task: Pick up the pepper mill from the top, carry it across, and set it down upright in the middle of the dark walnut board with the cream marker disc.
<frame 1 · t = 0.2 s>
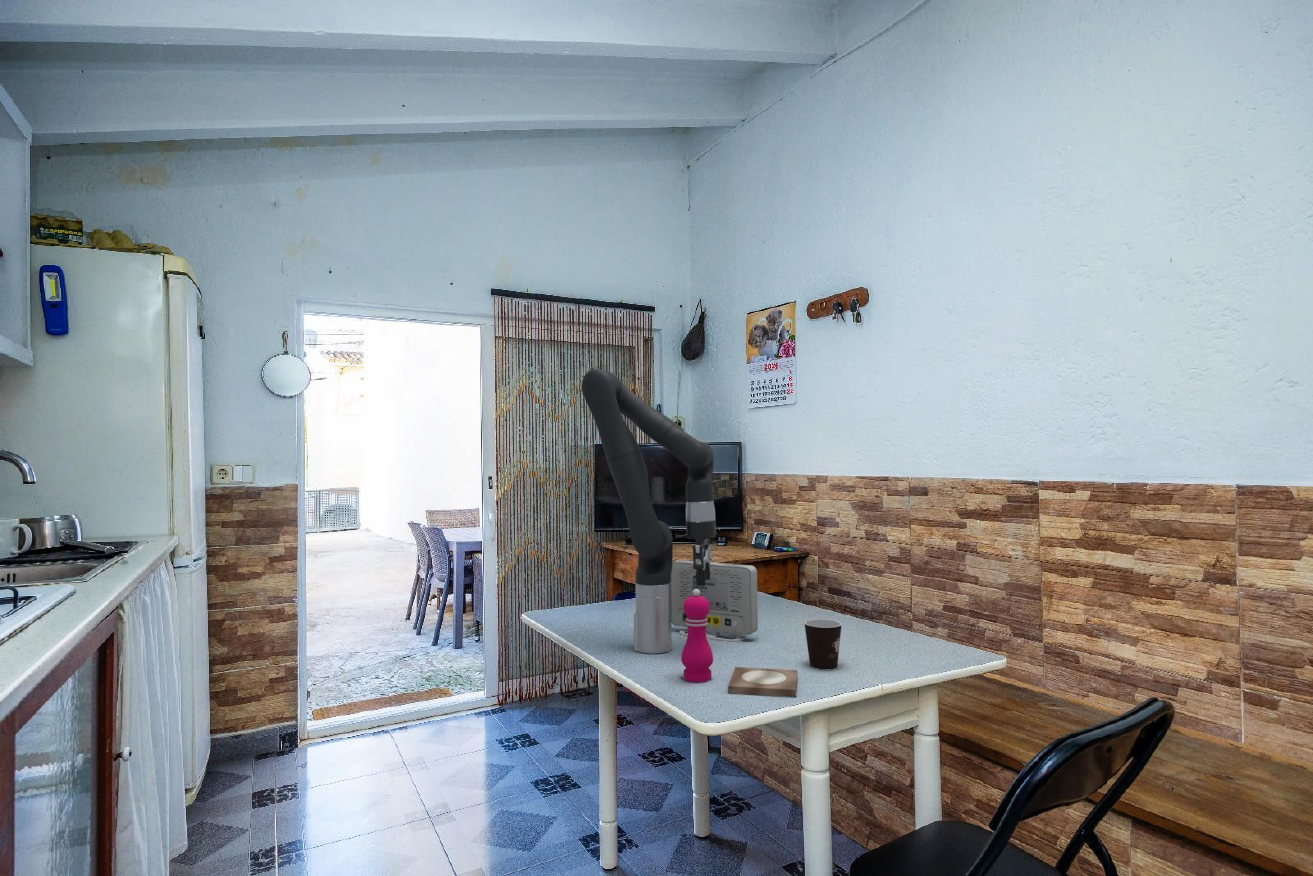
hand: (703, 582, 183), 18 cm above the table, tool pointing down, fingers open, 8 cm apart
network device: (712, 636, 200), on the table
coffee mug: (828, 665, 171), on the table
walnut board: (763, 684, 156), on the table
pepper mill: (697, 679, 161), on the table
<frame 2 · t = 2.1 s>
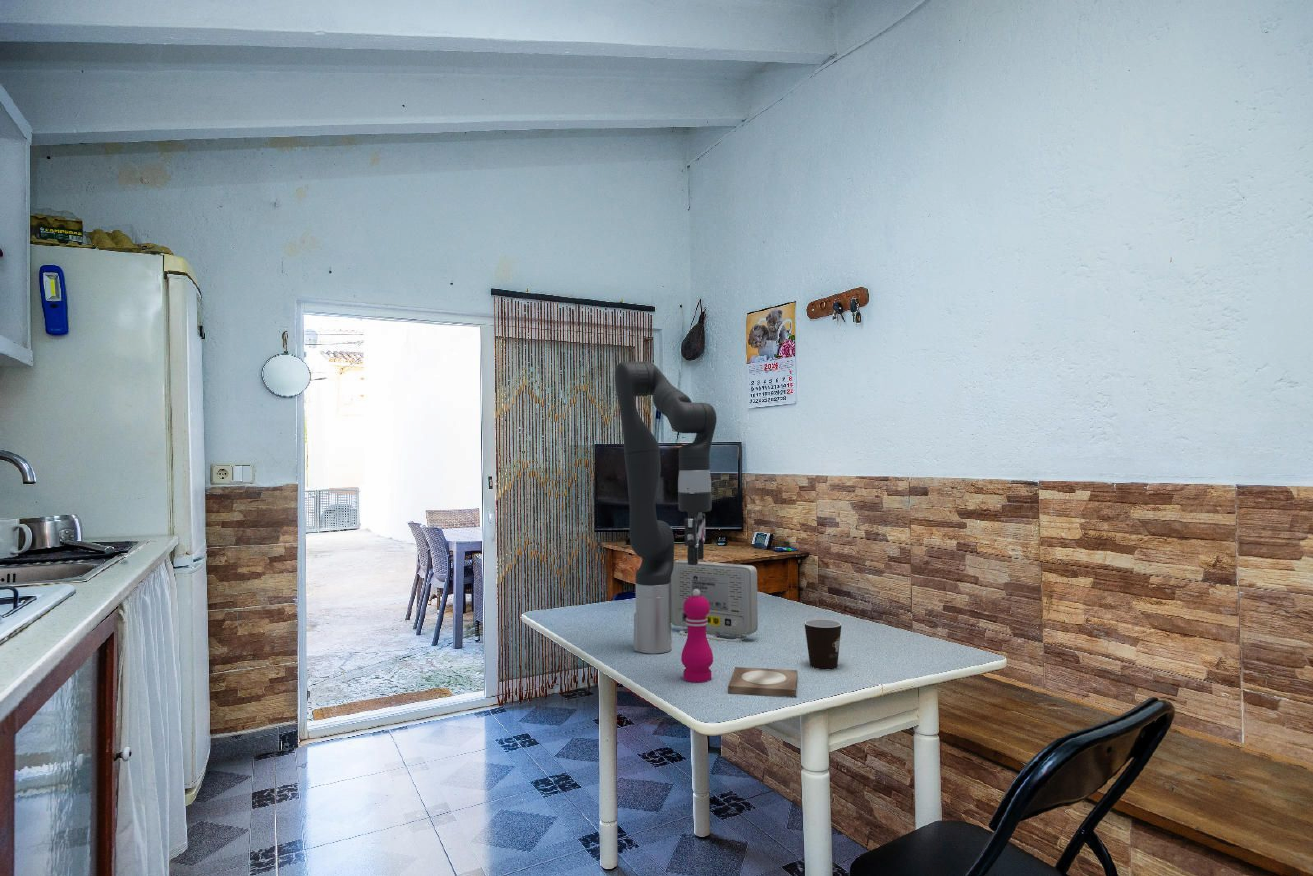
hand: (695, 562, 162), 26 cm above the table, tool pointing down, fingers open, 8 cm apart
nothing on the table moved.
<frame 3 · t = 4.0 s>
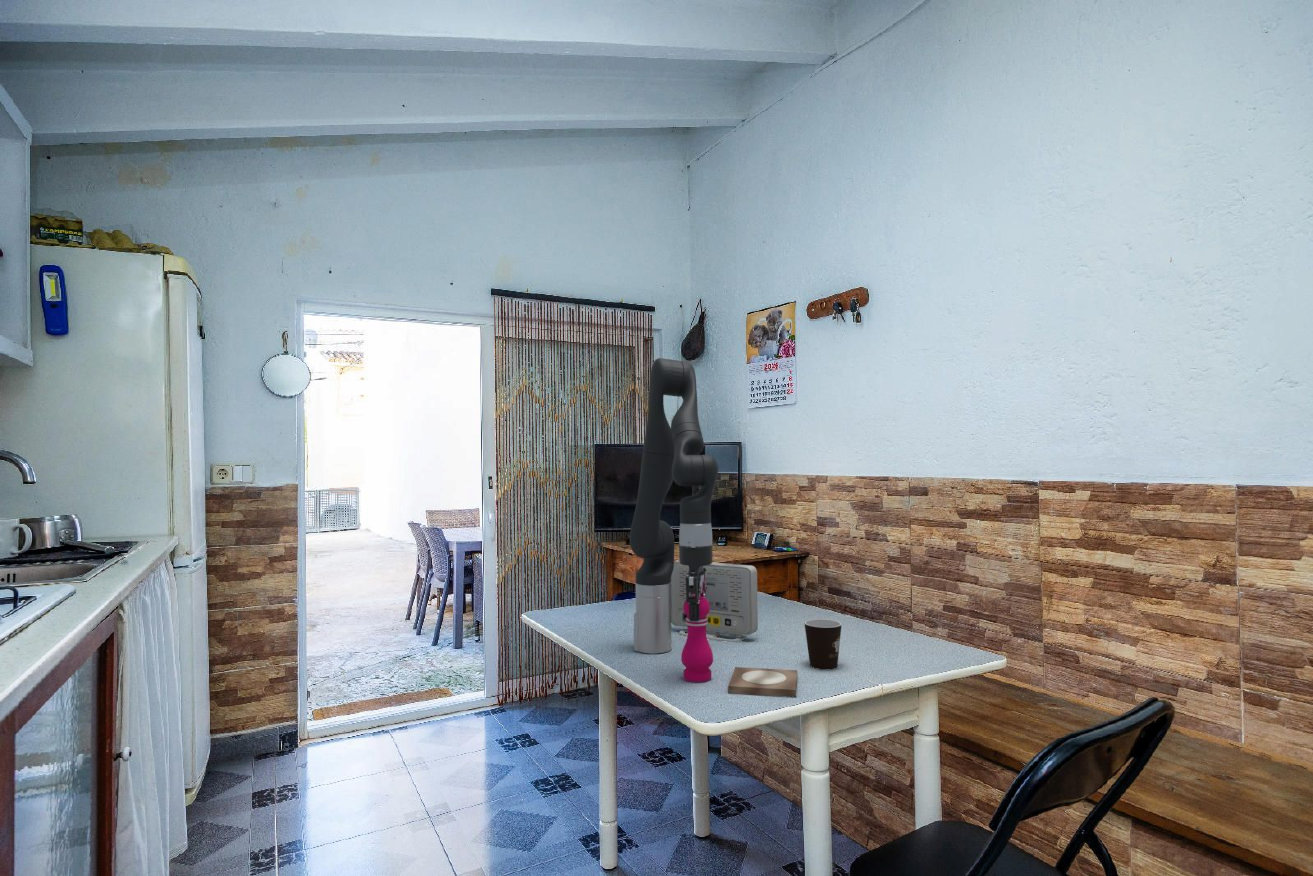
hand: (696, 617, 162), 14 cm above the table, tool pointing down, fingers closed on pepper mill, 6 cm apart
pepper mill: (697, 679, 161), on the table, touching gripper
everything else where it was.
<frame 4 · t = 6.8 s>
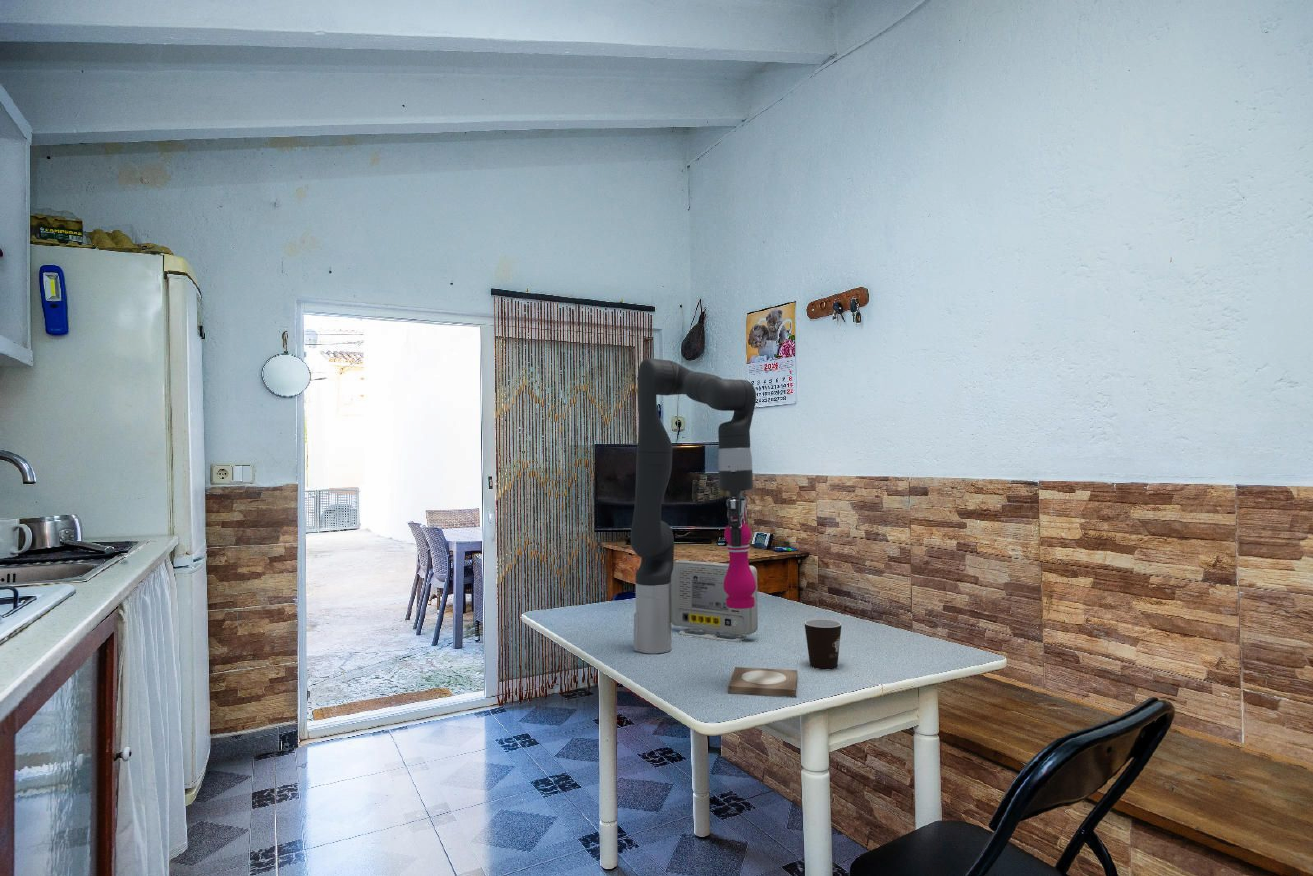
hand: (738, 544, 159), 30 cm above the table, tool pointing down, fingers closed on pepper mill, 6 cm apart
pepper mill: (740, 607, 158), point 17 cm above the table, touching gripper
everything else where it was.
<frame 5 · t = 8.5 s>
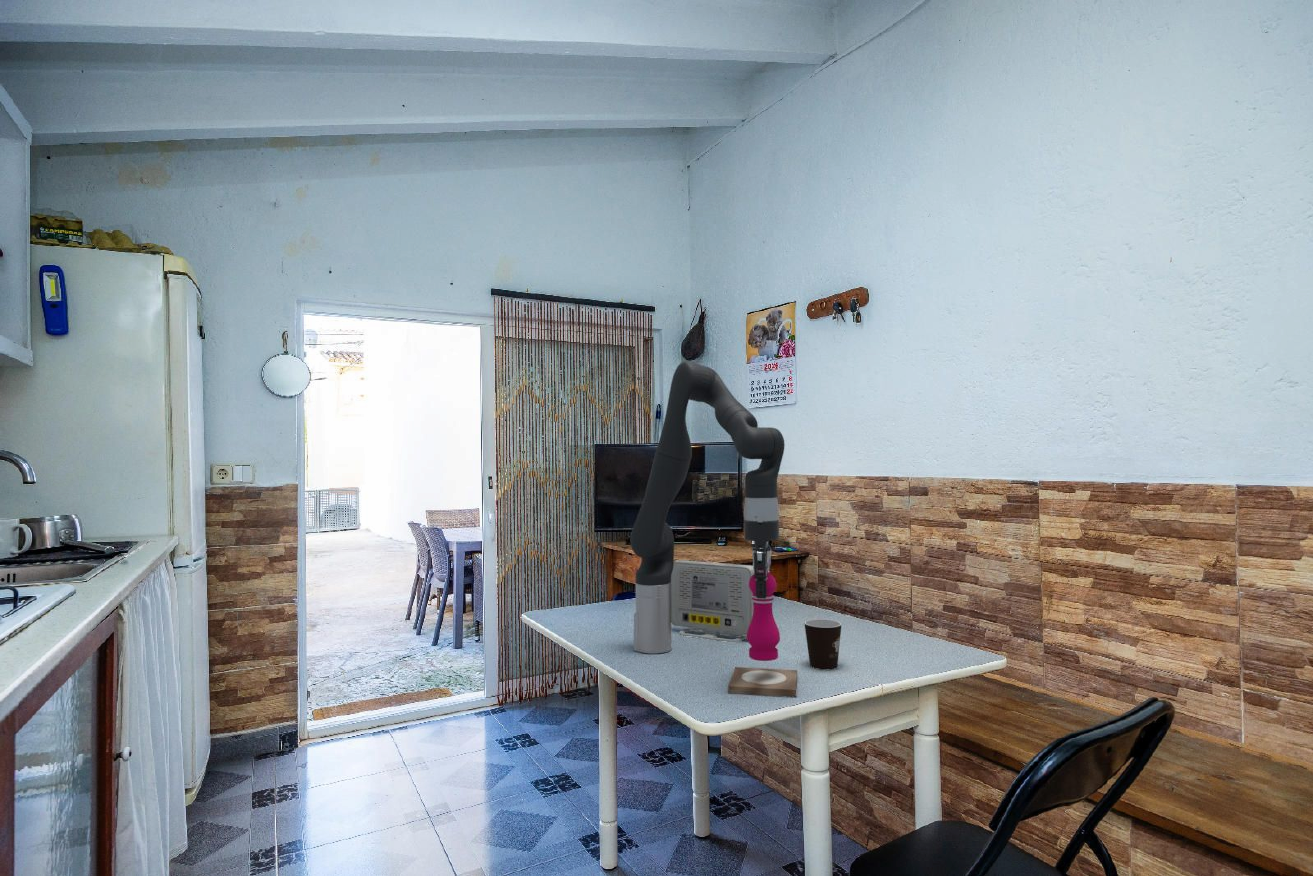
hand: (762, 594, 157), 19 cm above the table, tool pointing down, fingers closed on pepper mill, 6 cm apart
pepper mill: (763, 658, 156), point 6 cm above the table, touching gripper
everything else where it was.
when the fingers open (15 cm above the table, at t = 9.9 s): pepper mill stays where it is, resting on walnut board.
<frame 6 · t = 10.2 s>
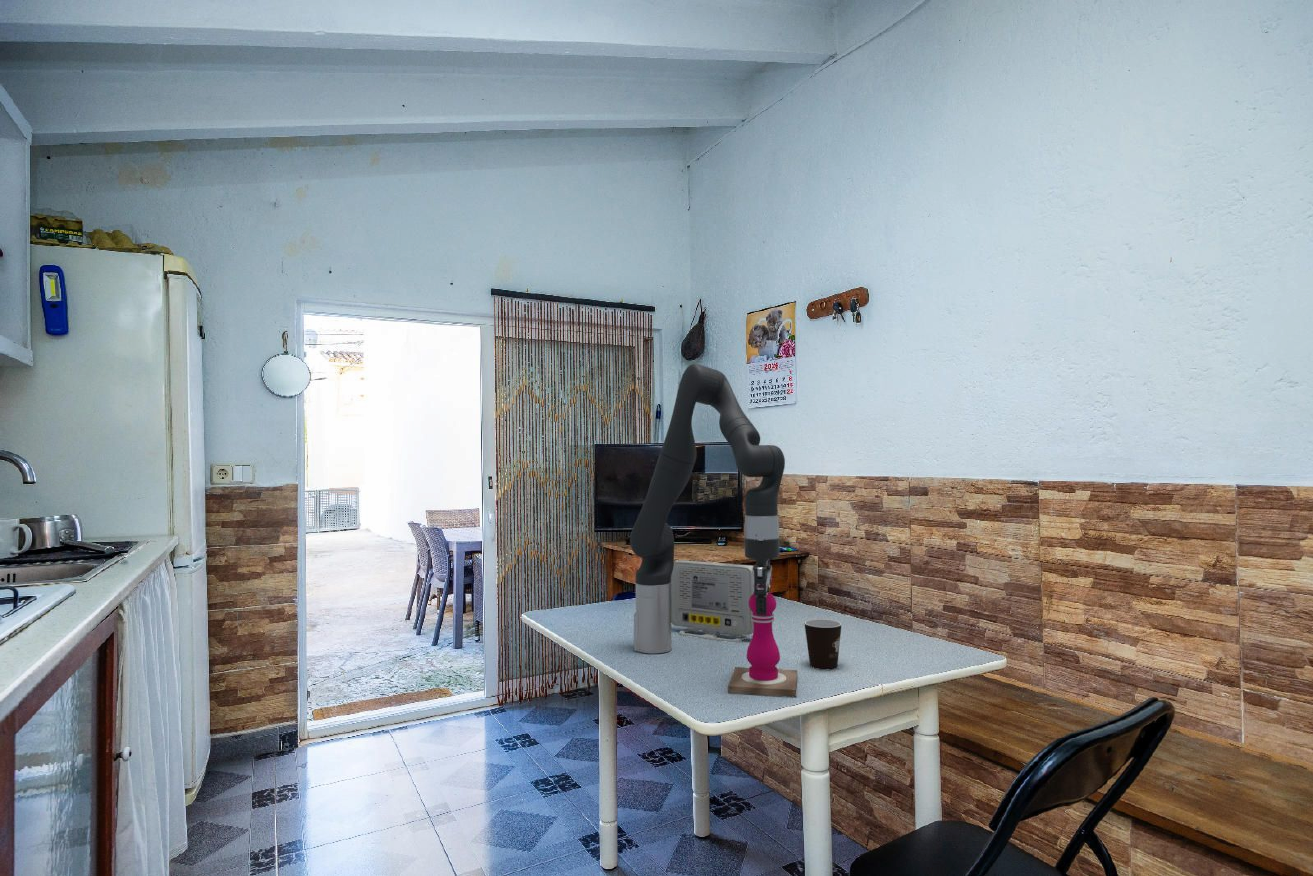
hand: (762, 610, 157), 16 cm above the table, tool pointing down, fingers open, 8 cm apart
pepper mill: (763, 677, 156), point 2 cm above the table, touching walnut board
everything else where it was.
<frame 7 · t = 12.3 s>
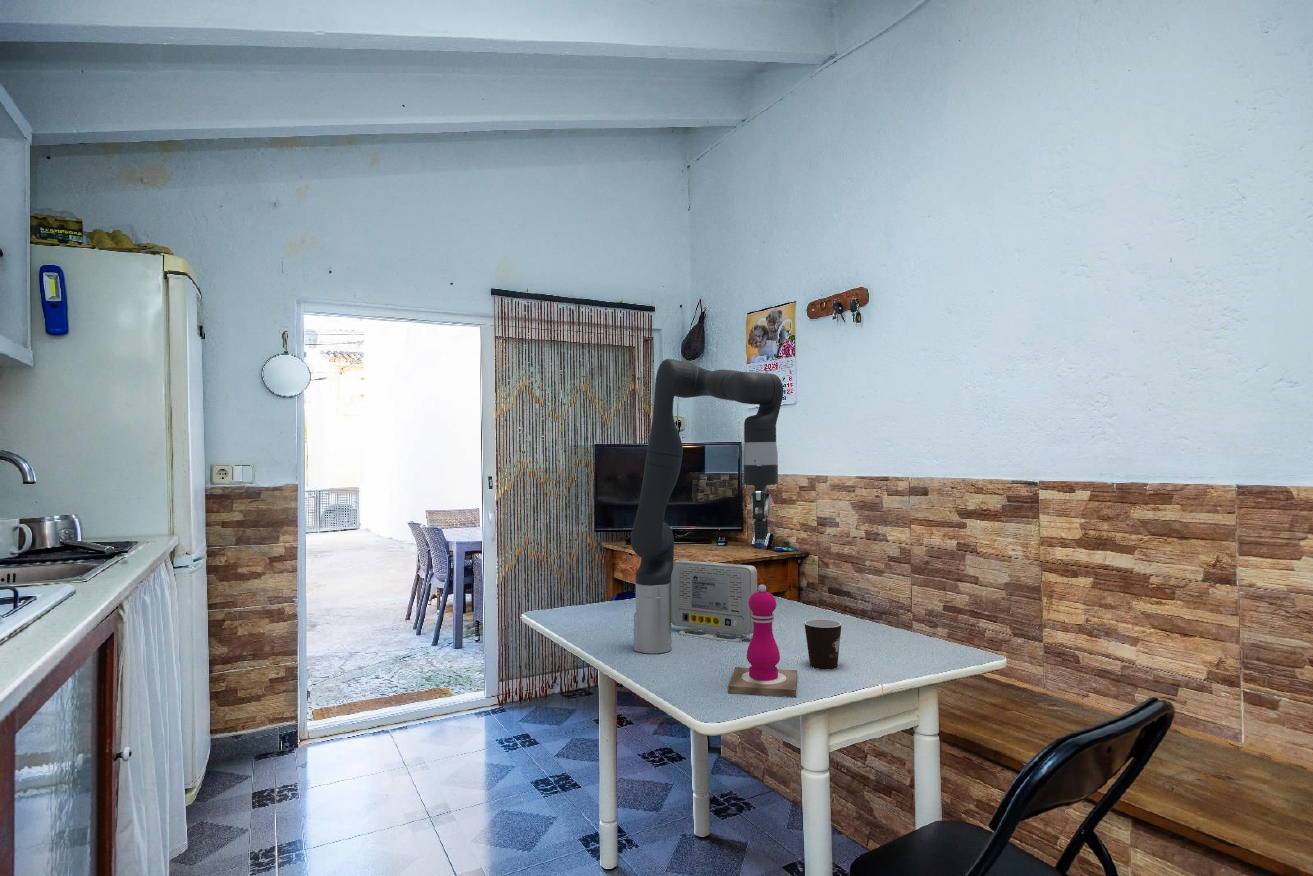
hand: (761, 537, 157), 32 cm above the table, tool pointing down, fingers open, 8 cm apart
nothing on the table moved.
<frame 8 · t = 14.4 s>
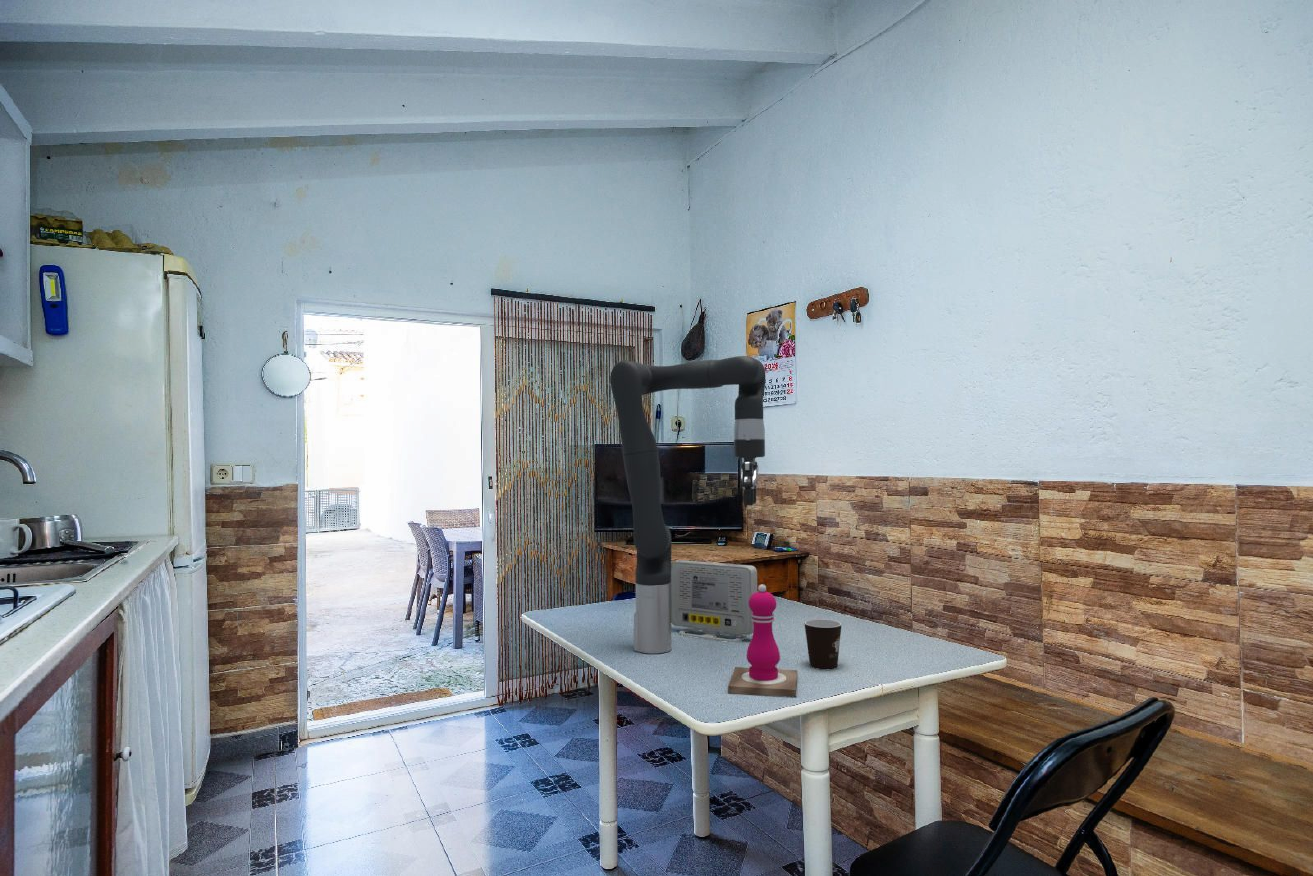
hand: (750, 504, 176), 38 cm above the table, tool pointing down, fingers open, 8 cm apart
nothing on the table moved.
at the end: pepper mill inside the target area on the walnut board (0.2 cm from its centre), point 1.5 cm above the walnut board's base; pepper mill tilted 0°; the gripper is holding nothing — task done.
